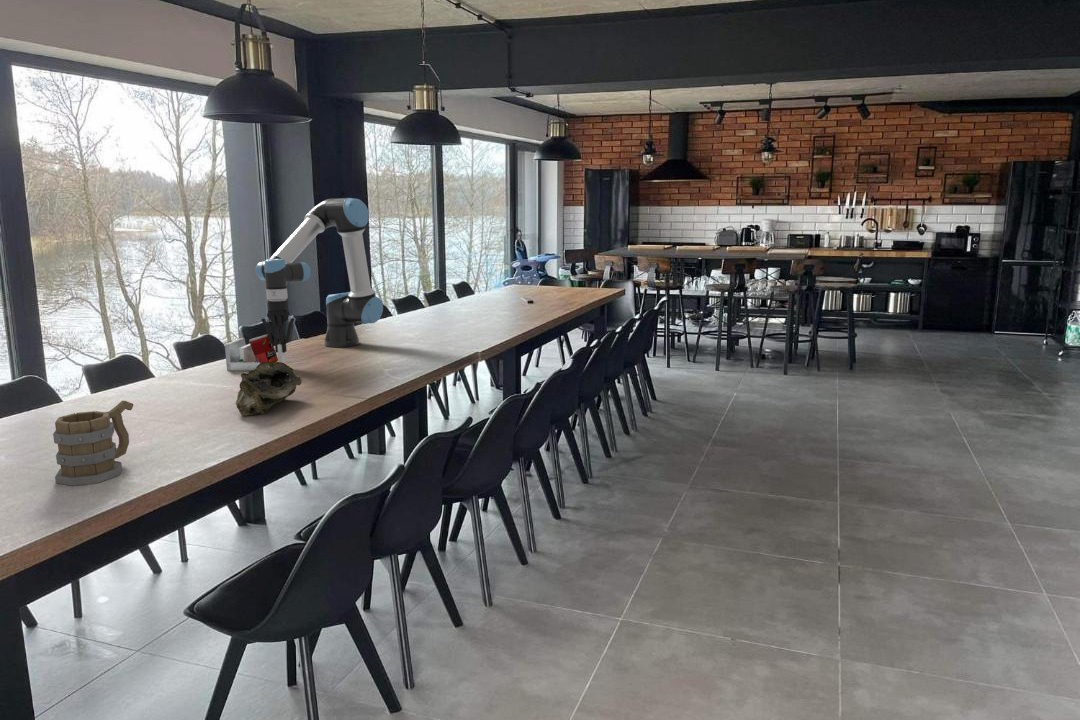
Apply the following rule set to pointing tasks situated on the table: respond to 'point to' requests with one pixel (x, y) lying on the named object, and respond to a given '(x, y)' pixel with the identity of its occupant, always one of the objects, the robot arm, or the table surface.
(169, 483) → the table surface
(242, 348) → the white flat block
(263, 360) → the canned food
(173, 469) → the table surface
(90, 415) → the tankard
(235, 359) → the frame
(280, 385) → the hollow geode rock
